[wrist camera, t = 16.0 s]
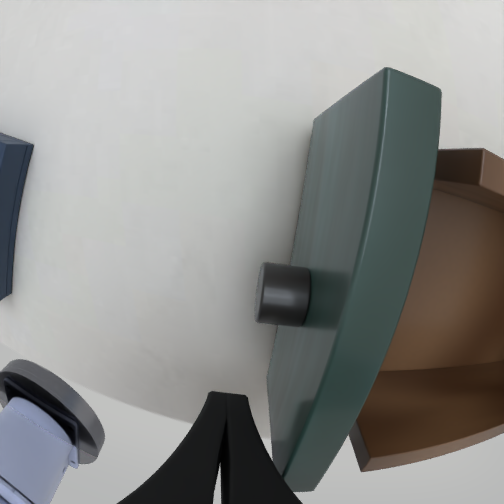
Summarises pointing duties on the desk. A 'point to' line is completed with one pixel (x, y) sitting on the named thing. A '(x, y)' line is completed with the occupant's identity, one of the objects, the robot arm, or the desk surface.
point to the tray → (10, 201)
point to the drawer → (387, 291)
